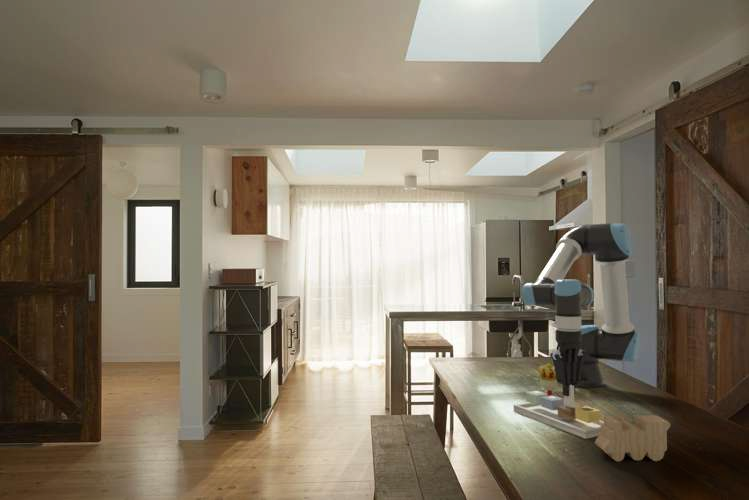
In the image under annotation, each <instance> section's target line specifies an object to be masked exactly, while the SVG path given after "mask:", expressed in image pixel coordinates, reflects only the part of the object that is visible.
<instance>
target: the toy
mask: <svg viewBox="0 0 749 500" xmlns="http://www.w3.org/2000/svg"><path fill="white" fill-rule="evenodd" d="M537 370H538V372H539V379H540V380H539V381H540V385H541V387H542V388H543V389H544V390H546V391H547V392H546V393H547V395H548V396H551V395H553V396H555V395H554V393H553V391H555V390H556V389H557V388H558V387H559V384H560V383H558V382H557V378H556V373H555V368H554V365H552V364H551V363H546V364H544V365H540V366H539V367H538V369H537Z"/></svg>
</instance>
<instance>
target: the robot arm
mask: <svg viewBox="0 0 749 500" xmlns="http://www.w3.org/2000/svg"><path fill="white" fill-rule="evenodd" d="M633 253H634V239H633V234H632V231H631V229H630V227H629V226H628V225H627V224H625V223H615V222H611V223H594V224H581V225H578V226H576V227H574V228H572V229H571V230H569V231H568V232H566V233H564V235H562V236H561V237H560V238H559V240H558V242H557V243H556V245H555V251H554V253H553V254H552V256H551V257H550V258H549V260H548V261H547V263H546V265H545V266H544V268H543V270H542V271H541V272H540V274H539V276H538V277H537V278H536V280H535V281H534V282H526V283H525V284H524V285H523V286H522V289H521V297H522V301H523V303H524V304H525V305H530V306H531V305H532V306H534V307H535V306H536V307H537V306H541V307H542V306H543V307H544V306H545V307H554V310H555V311H554V315H555V318H554V319H555V328H556V329H555V332H554V333H555V342H556V343H557V346H556V350H555V351H554V352H550V354H549V355H550V358H551V360H552V363H553V366H554V368H555V373H556V378H557V382H558V383H559V384H560V385H562V395H563V399H564V405H565V406H568V407H574V406H575V396H576V387H579V388H600V387H603V386H604V385H605V381H604V379H605V378H604V377H603V374H602V371H601V367H600V361H599V360H603V361H604V360H605V361H614V362H621V363H634V362H635V361H636V360H637V358H638V357H639V353H640V348H641V339H642V337H641V332H638V331H636V330H635V325H633V324H632V323H631V322H630V312H629V311H630V310H629V298H628V288H627V287H628V283H627V275H626V274H627V273H626V262H627V261H628V260H629V259H630V255H632V254H633ZM586 255H587V256H594V258H595V262H597V264H599V268H600V269H599V270H600V279H601V290H602V291H601V292H602V301H603V312H604V324H603V325H601V329H600V327H599V325H597V324H583V325H582V308H585V307H586V308H587V307H588V306H589V305H591V304H592V303H593V302H594V299H595V292H594V289H593V288H592V287H591V286H590V285H588V284H585V283H581V281H580V280H578V279H575V278H573V279H571V278H570V279H568V278H567V279H565V277H566V275H567V273H568V272H569V271H570V269H571V267H572V265H573V263H574V262H575V261H576V260H578V259H579V258H581V257H582V256H586Z"/></svg>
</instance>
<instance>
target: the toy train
mask: <svg viewBox="0 0 749 500" xmlns="http://www.w3.org/2000/svg"><path fill="white" fill-rule="evenodd" d="M603 421H604V424H601V430H600V435H599V436H597V438H596V439H595V441H594V444H595V445H596V446H597V447H599V448H600V450H602V451H603V452H604V453H605V454H607V455H608V456H609V457H610V458H611V459H613V460H614V461H616V462H622V461H623V460H624V458H625V455H626V456H628V457H630V458H631V459H633V460H634V461H642V460H643V459H644V458H645V457H646V458H649V459H650V460H652V461H654V462H658V461H659V462H660V461H661V460H662V459H664V456H665V452H666V451H667V450H668V441H667V440H668V436H667V435H668V434H667V432H668V430H669V429H670V428H671V426H672V424H671V422H669V421H668V420H666V419H664V418H662V417H660V416H659V415H656V414H653V415H652V414H651V415H650V414H649V415H647V414H646V415H643V414H642V415H641V414H639V415H638V414H637V415H635V416H634V423H630V422H629V421H627V420H625V419H623V418H622V419H620V420H618V419H616V418H614V417H613V416H611V415H609V414H608V415H603Z"/></svg>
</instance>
